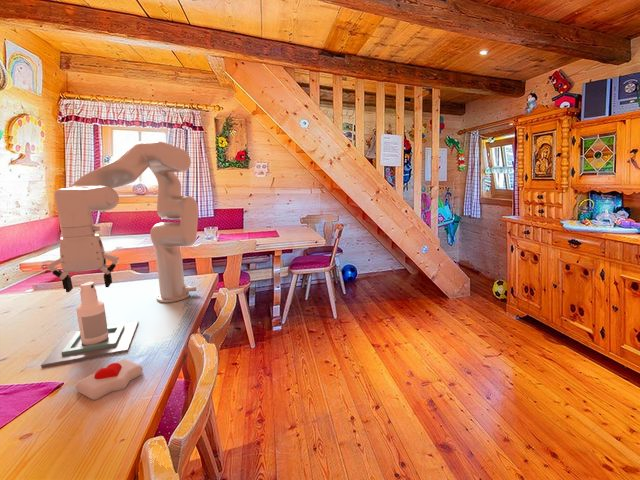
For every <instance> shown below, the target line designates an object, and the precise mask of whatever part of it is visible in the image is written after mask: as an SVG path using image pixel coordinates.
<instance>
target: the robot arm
mask: <svg viewBox="0 0 640 480" xmlns="http://www.w3.org/2000/svg"><path fill="white" fill-rule="evenodd" d="M191 164H192V161H191V156H190V155H189V154H188V152H187V151H186V150H185V149H182V148H180V147H179V146H178V147H177V146H176V145H172V144H170V143H168V142H164V141H158V140H156V141H154V140H153V141H139V142H138V141H137V142H135V143H132V144H131V145H129V146H128V148H126V150H124V151H123V152H122V153H121V154H119V155H118V156H117V157H116V158H115V159H114V160H113V161H111V162H109V163H107V164H104V165H103V166H100V167H98V168H97V169H95V170H94V169H93V170H92V171H90V172H88V173H86V174H83V176H81V177H80V178H78V179H77V180H76V181H75V182H73V183H72V184H71V185H70V186H69V187H68V188H67V187H65V188H58V189H56V190H55V191H54V195H53V196H54V200H55V206H56V210H57V216H58V220H59V226H60V231H61V237H60V239H59V258H58V259H56V260H54V261H53V262H51V263H49V264H48V265H47V266H46V267H47V269H48V270H49V271H50V272H51V273H52V274H53V275H54V276H55V277H58V278H59V279H60V280H61V283H62V287H63V290H65V292H66V293H70V292H71V291H72V290H73V289H74V288H73V286H74V285H73V282H72V278H71V276H70V273H76V272H77V273H78V272H84V271H85V272H86V271H95V270H100V271H101V272H102V273H104V274H103V280H104V287H105V288H110V286H111V284H112V283H113V278H112V271H113V270H115V268H116V267H117V265H118V263H119V260H120V258H119V256H115V255H113V254H109V253H106V251H105V248H104V245H103V244H104V243H103V242H102V239H101V236H100V234H99V233H96V232H99V231H101V226H96V225H95V223H94V219H93V215H92V212H107V211H110V210H113V209H114V208H116V207H117V206H118V204H119V202H120V197H119V196H120V195H119V193H118V192H117V191H116V190H115V189H114V188H119V187H120V188H121V187H123V186H127V185H130V184H132V183H134V182H136V180H138V178H140V177H141V175H143V173H144V172H145V171H146V170H147V169H150V170H151V172H152V173H153V175H154V177H155V178H156V181H157V200H156V202H157V203H156V213H157V215H158V217H159V218H161V219H164V220H179V221H180V222H174V221H173V222H164V221H163V222H159V223H156V224H154V225H153V226H152V228H151V229H150V233H149V234H150V235H149V236H150V239H151V242H152V245H153V248H154V253H155V254H154V255H155V260H156V268H157V276H158V283H159V284H158V286H159V294H157V295H156V301H157V302H159V303H164V304H165V303H174V302H175V303H177V302H179V301H183V300H185V299H187V298H189V296H190V292H197V291H198V289H197V286H194V285H186V284H187V283H186V282H185V275H184V267H183V266H184V264H183V255H182V253H181V250H180V248H179V247H191V246H192V245H194V244H195V243H196V240H197V235H198V222H199V206H198V203H197V200H196V199H195V198H194V197H192V196H189V195H182V183H181V181H180V179H179V177H178V176H177V175H176V174H175V173H183V172H186V171H188V170H189V169H190V167H191ZM107 261H111V265H109V266H108V265H107V263H108V262H107ZM58 265H61V269H62V270H60V269H58V267H57V266H58Z"/></svg>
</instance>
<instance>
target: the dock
mask: <svg viewBox="0 0 640 480" xmlns="http://www.w3.org/2000/svg"><path fill="white" fill-rule="evenodd" d="M138 325H139V321H138V320H136V321H129V322H124V323H118V324H110V325H107V329H108V338H107V339H106V340H104V341H102V342H100V343H97V344H92V345H84V344H82V342H81V336H80V329H79V330H77V329H76V330H72V331H67V332H66V333H65V334H64V336H63V337H62V339H61V340H60V341H59V342H58V343H57V344H56V346H55V347H54V348H53V349H52V351H51V352H50V353H49V354H48V356H47V357H46V358H44V361H43V362H42V363H41V365H40V367H41V368H47V367H51V366H53V367H54V366H57V365H62V364H63V365H64V364H68V363H69V364H70V363H74V362H80V361H84V360H85V361H86V360H92V359H95V358H96V359H97V358H101V357H102V358H103V357H107V356H112V354H114V355H118V354H117V353H119V354H123V353H122V352H124V353H128V352H129V350H130V347H131V344H132V342H133V339H134V335H135V334H136V332H137V328H138Z"/></svg>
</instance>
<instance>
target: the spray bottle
mask: <svg viewBox="0 0 640 480" xmlns="http://www.w3.org/2000/svg"><path fill="white" fill-rule="evenodd" d="M79 287H80V289H79V290H80V292H79V294H80V302H81V304H79V305H77V307H76V316H77V321H78V328H79V330H80V336H81V342H82V344H84V345H92V344H97V343H100V342H102V341H104V340H106V339H107V338H108V329H107V326H108V323H107V317H106V308H105V303H104V302H103V301H101V300H99V299H98V293H97V289H96V286H95V282H94V281H87V282H85V283H82V284H80V285H79Z"/></svg>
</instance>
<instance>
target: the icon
mask: <svg viewBox="0 0 640 480" xmlns="http://www.w3.org/2000/svg"><path fill="white" fill-rule="evenodd" d="M142 373H143V367H142V365H141V364H139V363H138V364H137V363H135V362H134V361H131V360H129V359H126V358H123V359H120V360H118V361H116V362H113V363H110V364H109V365H108V366H106V367H102V368H100V369H98V370H97V371H96V372H94V373H92V374H90V375H88V376H86V377H84V378H81V379H80V380H79V381H77V383H76V385H75V390H76V391H77V392H78V393H81V394H82V395H84V396H85V397H88V398H89V399H91V400H93V401H95V400H98V399H100V398H102V397H104V396H106V395H108V394H109V393H111V392H116V391H119V390H120V389H121V390H124V389H125V388H126V387H127V386H128V384H129V383H130V382H131V381H132V380H134V379H136V378H138V377H140V376H141V375H142ZM130 380H131V381H130ZM129 381H130V382H129Z"/></svg>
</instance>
